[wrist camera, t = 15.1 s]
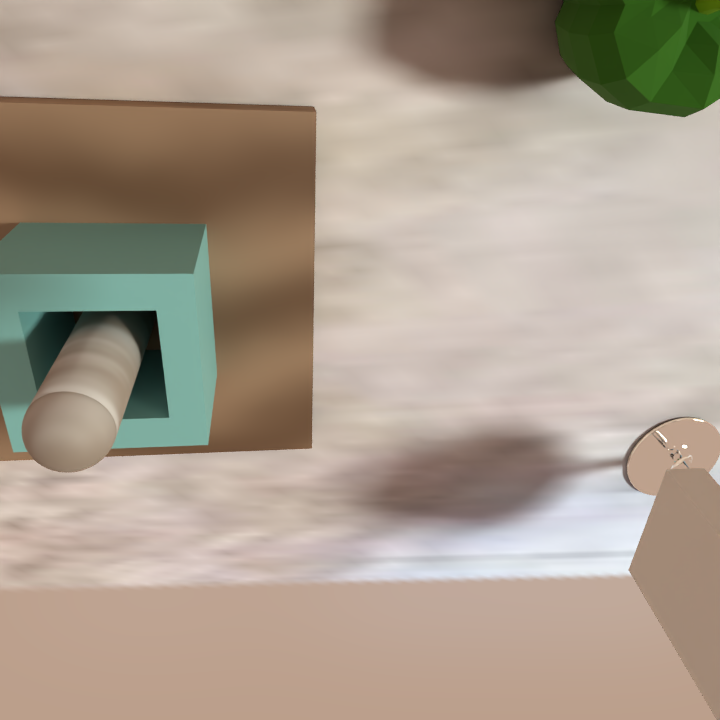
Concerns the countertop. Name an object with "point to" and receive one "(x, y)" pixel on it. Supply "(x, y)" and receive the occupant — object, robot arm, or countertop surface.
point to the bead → (112, 293)
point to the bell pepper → (644, 52)
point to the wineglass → (672, 452)
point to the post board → (225, 250)
